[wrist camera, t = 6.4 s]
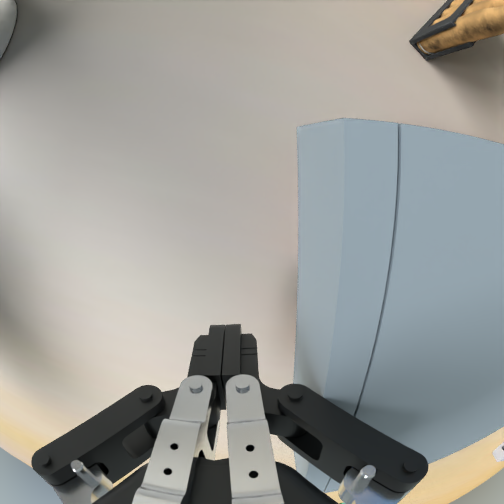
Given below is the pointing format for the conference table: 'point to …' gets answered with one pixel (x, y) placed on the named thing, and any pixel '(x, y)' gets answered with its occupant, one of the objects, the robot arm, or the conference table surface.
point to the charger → (499, 453)
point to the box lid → (401, 281)
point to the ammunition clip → (459, 26)
